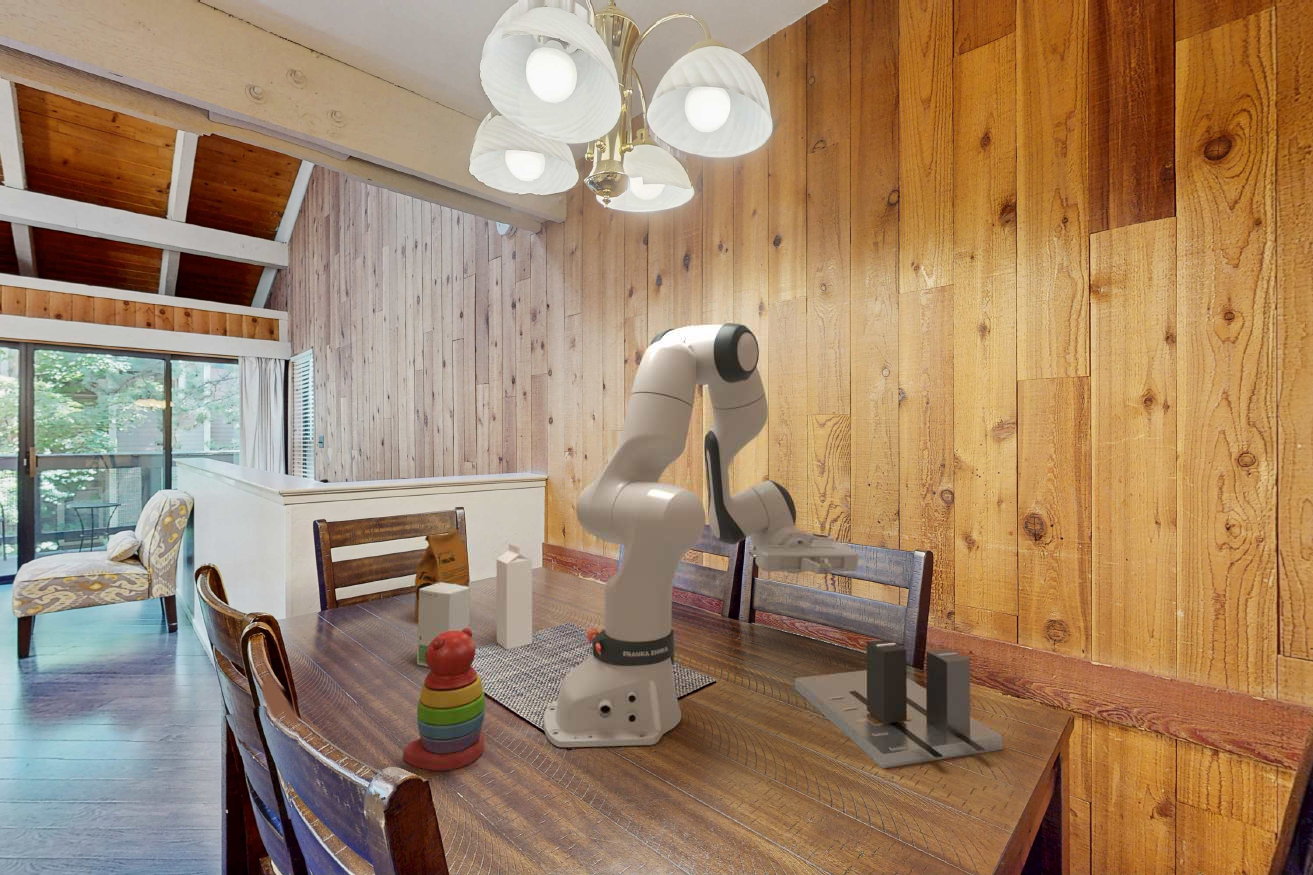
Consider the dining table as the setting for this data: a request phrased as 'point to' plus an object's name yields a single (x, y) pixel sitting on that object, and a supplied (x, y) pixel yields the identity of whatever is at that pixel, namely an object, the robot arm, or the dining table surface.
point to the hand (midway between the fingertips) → (824, 569)
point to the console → (931, 714)
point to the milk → (514, 599)
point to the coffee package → (442, 563)
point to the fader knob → (887, 681)
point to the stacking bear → (449, 706)
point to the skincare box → (441, 613)
